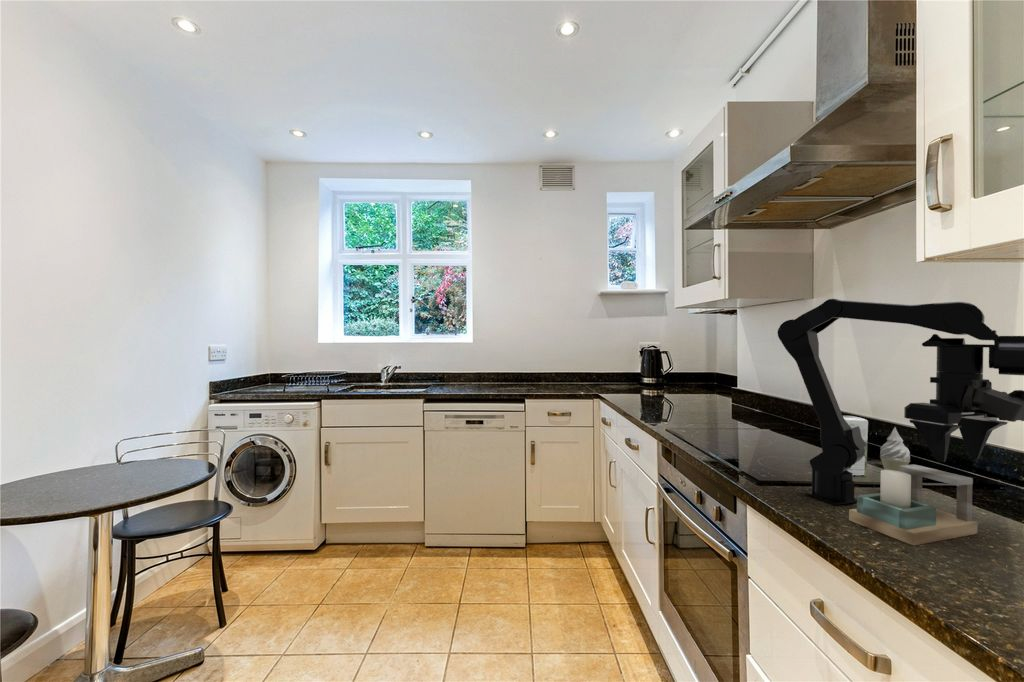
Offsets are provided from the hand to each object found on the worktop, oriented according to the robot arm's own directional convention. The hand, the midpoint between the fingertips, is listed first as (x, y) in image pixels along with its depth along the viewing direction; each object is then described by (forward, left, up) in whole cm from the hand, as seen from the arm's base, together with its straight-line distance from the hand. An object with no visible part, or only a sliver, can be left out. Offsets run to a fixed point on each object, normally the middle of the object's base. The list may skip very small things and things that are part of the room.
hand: (957, 459), depth 75 cm
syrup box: (-29, +15, -13) cm, 35 cm away
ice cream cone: (-15, +9, -13) cm, 22 cm away
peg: (-3, -11, -10) cm, 16 cm away
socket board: (-3, -7, -12) cm, 15 cm away
